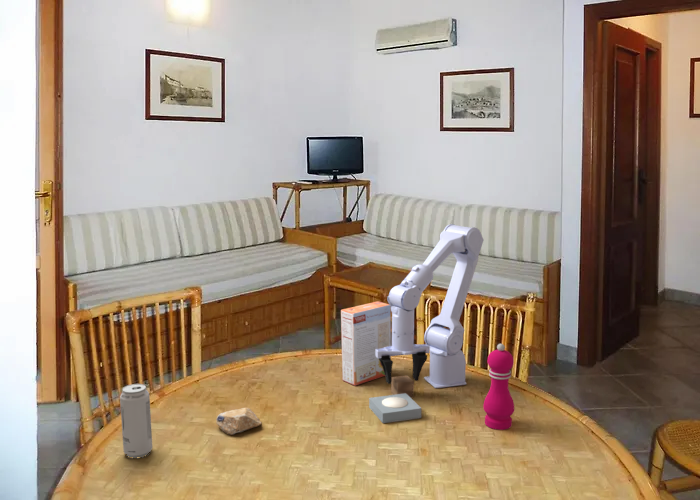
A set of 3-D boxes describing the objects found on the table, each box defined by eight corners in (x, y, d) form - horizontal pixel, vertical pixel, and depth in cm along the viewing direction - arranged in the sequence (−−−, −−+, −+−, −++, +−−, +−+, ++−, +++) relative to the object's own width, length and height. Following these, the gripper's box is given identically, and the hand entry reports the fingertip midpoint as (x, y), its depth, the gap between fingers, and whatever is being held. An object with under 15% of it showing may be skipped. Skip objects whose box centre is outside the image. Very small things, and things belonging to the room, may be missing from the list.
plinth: (405, 402, 174) (405, 392, 174) (421, 417, 165) (421, 407, 164) (369, 407, 171) (369, 397, 171) (382, 423, 162) (382, 412, 161)
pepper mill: (514, 432, 157) (517, 349, 153) (482, 429, 158) (485, 347, 155) (513, 419, 164) (516, 340, 160) (482, 416, 165) (485, 338, 162)
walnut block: (406, 391, 182) (407, 375, 181) (413, 397, 178) (413, 381, 177) (391, 393, 180) (391, 377, 180) (397, 399, 176) (397, 383, 175)
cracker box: (377, 369, 198) (377, 300, 195) (391, 374, 194) (392, 304, 190) (340, 380, 190) (340, 308, 186) (354, 386, 185) (354, 312, 181)
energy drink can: (123, 449, 149) (118, 385, 146) (151, 445, 151) (147, 381, 148) (124, 461, 143) (119, 395, 141) (153, 456, 145) (149, 391, 143)
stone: (212, 427, 160) (212, 409, 159) (251, 416, 166) (251, 399, 166) (229, 440, 154) (228, 421, 153) (269, 428, 160) (268, 410, 159)
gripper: (382, 338, 170) (381, 389, 172) (434, 333, 174) (433, 383, 177) (372, 330, 177) (372, 379, 179) (423, 326, 181) (422, 374, 183)
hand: (402, 381), depth 178 cm, fingers open, 7 cm apart
